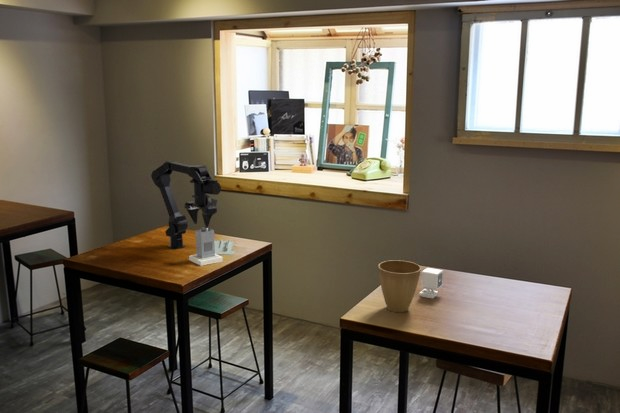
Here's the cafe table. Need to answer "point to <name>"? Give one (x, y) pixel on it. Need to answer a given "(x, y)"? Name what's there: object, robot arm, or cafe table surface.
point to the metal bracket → (223, 247)
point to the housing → (205, 243)
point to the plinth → (205, 259)
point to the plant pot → (398, 283)
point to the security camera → (431, 282)
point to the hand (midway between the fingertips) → (201, 225)
